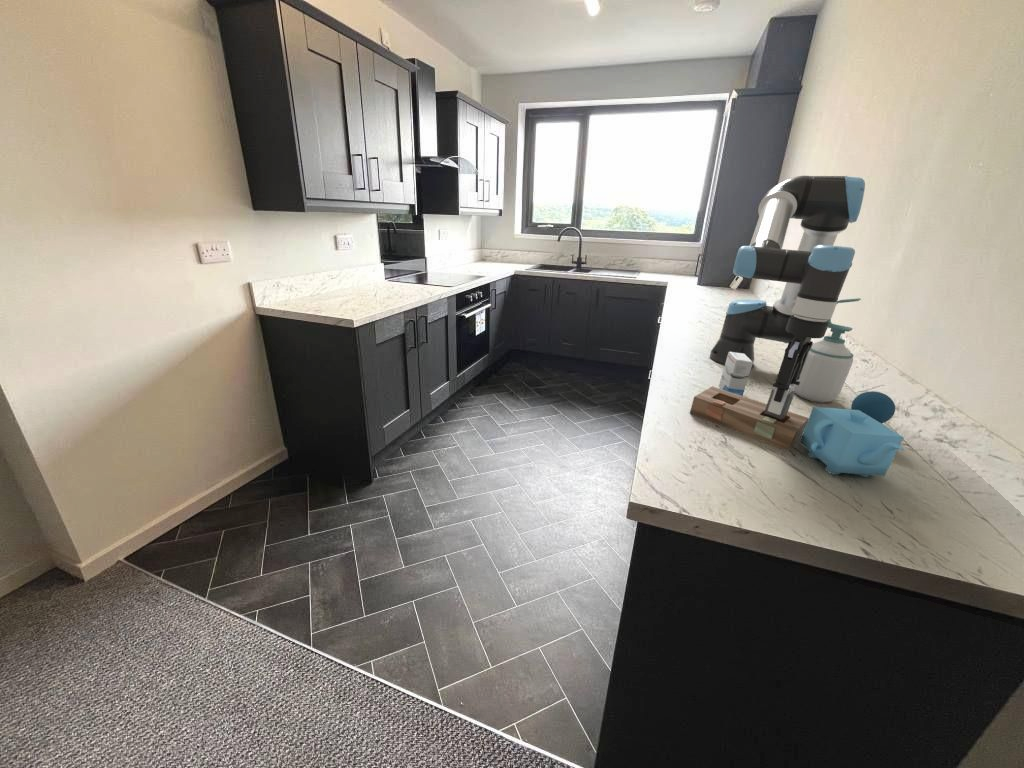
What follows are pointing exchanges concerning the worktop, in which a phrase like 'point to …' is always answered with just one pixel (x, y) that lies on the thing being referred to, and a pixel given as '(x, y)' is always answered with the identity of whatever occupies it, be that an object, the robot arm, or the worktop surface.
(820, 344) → the soap bottle
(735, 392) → the ink box
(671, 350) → the worktop surface
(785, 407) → the plug
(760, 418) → the socket block
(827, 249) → the robot arm
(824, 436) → the teapot
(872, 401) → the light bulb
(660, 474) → the worktop surface
